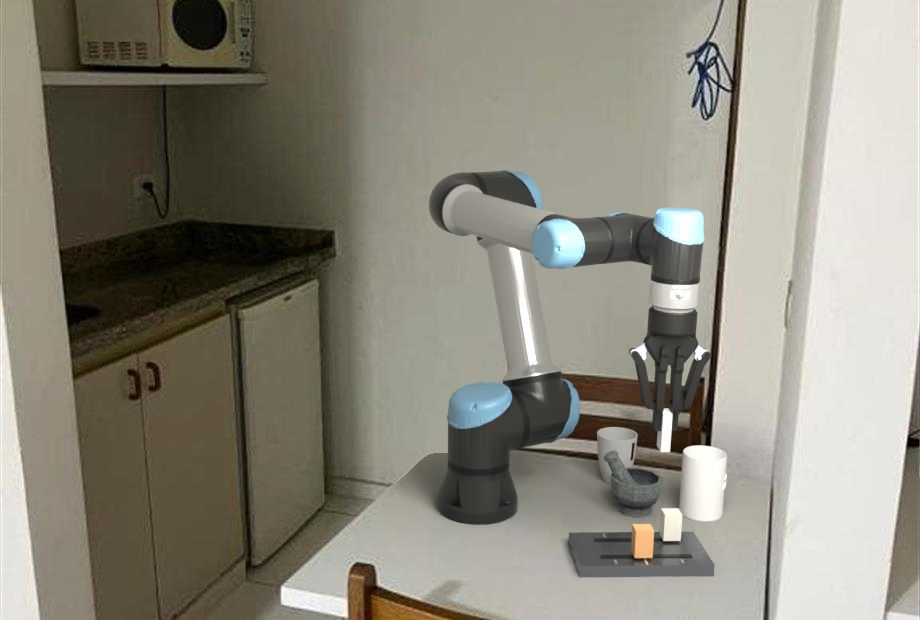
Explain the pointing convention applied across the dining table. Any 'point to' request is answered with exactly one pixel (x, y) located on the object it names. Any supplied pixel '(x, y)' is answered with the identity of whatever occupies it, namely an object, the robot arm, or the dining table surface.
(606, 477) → the cup
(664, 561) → the console
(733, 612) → the dining table surface
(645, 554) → the fader
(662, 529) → the fader
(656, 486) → the mortar and pestle
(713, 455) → the mug
